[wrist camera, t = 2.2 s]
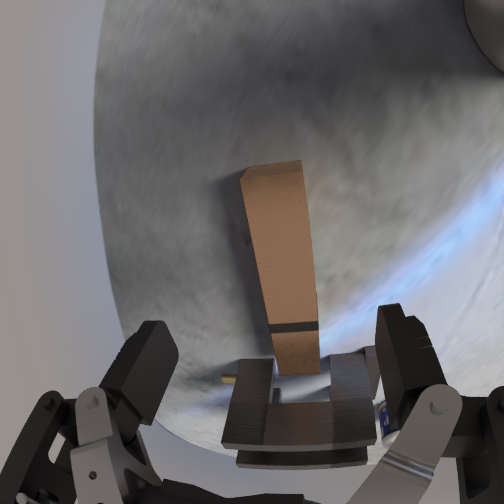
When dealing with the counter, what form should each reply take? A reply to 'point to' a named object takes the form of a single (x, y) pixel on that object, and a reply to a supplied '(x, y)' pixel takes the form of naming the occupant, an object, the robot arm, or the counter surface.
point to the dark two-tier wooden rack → (303, 417)
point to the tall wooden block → (284, 262)
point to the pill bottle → (386, 427)
